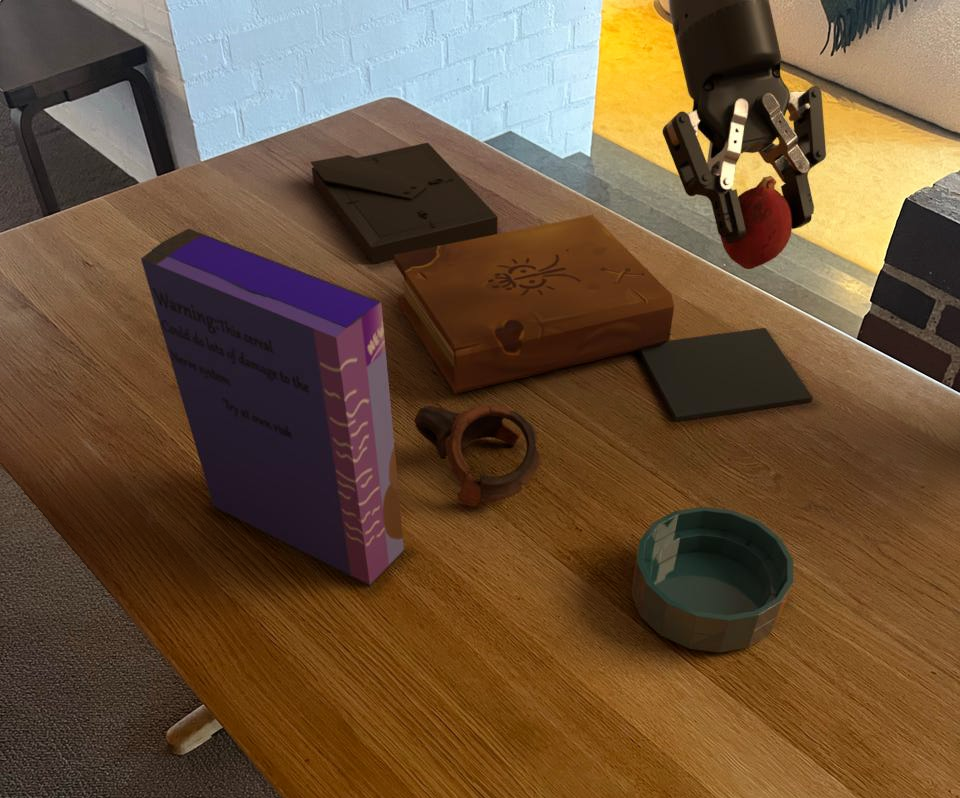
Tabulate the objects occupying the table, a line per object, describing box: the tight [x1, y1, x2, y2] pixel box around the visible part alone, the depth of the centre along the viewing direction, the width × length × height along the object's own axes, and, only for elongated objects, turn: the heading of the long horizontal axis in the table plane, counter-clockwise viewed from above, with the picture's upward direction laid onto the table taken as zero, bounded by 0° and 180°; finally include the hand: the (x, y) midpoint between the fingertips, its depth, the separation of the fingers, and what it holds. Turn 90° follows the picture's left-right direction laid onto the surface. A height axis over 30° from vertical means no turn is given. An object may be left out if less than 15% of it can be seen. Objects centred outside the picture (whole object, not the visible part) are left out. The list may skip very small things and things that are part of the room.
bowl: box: [630, 506, 795, 653], centre depth 79 cm, size 12×12×4 cm
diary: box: [393, 214, 675, 395], centre depth 102 cm, size 23×19×6 cm
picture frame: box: [310, 142, 498, 265], centre depth 120 cm, size 16×3×21 cm
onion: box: [720, 175, 793, 270], centre depth 84 cm, size 6×6×8 cm
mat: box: [637, 327, 814, 422], centre depth 99 cm, size 14×12×1 cm
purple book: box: [140, 228, 405, 587], centre depth 77 cm, size 17×5×24 cm, turn 57°
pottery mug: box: [413, 404, 544, 508], centre depth 88 cm, size 12×10×8 cm
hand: (769, 232), depth 83 cm, fingers closed on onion, 5 cm apart
